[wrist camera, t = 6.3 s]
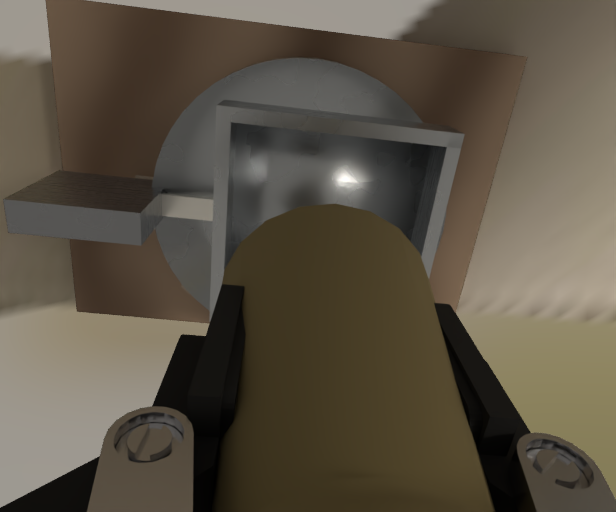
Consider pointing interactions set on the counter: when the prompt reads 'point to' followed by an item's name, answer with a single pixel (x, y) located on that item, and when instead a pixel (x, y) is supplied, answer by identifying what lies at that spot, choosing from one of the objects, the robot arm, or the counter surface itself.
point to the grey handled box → (260, 170)
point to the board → (210, 69)
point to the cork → (343, 376)
